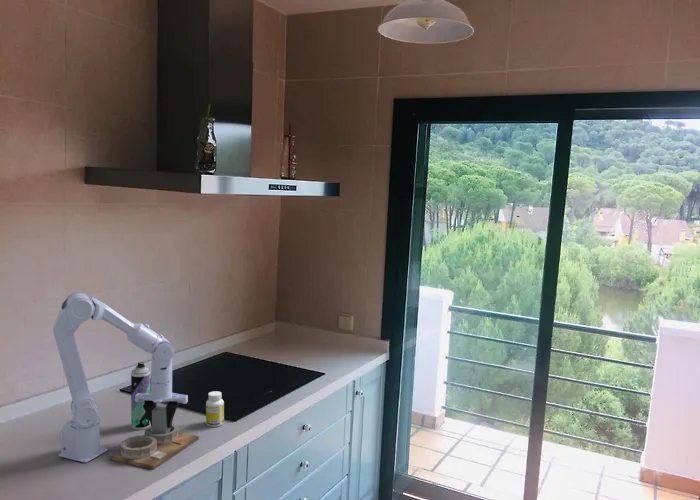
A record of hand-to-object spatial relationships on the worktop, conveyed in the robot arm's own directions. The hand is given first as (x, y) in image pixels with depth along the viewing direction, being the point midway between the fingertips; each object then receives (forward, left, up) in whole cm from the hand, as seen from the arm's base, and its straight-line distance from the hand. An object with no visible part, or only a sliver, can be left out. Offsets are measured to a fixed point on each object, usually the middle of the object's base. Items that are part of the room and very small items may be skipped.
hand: (161, 426), depth 168 cm
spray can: (-12, +6, -5) cm, 14 cm away
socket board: (+2, -5, -4) cm, 7 cm away
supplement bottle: (+7, +17, -5) cm, 19 cm away
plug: (0, 0, -2) cm, 3 cm away
